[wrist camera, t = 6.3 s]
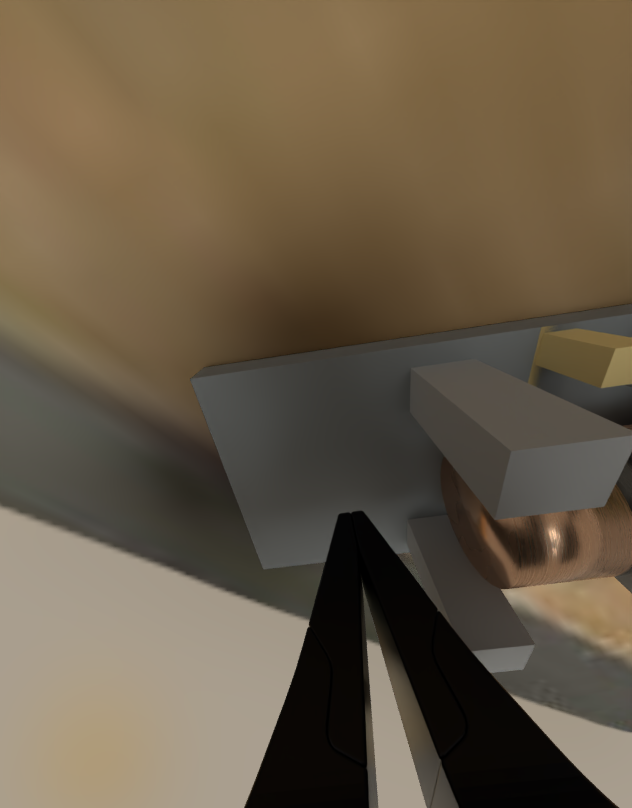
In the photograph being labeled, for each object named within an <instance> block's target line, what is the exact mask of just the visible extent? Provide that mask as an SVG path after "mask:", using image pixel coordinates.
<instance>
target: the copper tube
mask: <svg viewBox="0 0 632 808" xmlns="http://www.w3.org/2000/svg"><path fill="white" fill-rule="evenodd" d="M623 427H625V428H627V429H630V430H632V424H631V425H624V426H623ZM440 478H441V489H442V495H443V500H444V504H445V508H446V511H447V515H448V518H449V520H450V523H451V526H452V528H453V531H454V533H455V535H456V537H457V539H458V541H459V543H460V545H461V547H462V549H463V551H464V553H465V554H466V556H467V557H468V559H469V561H470V562H471V563H472V565H473V566H474V567H475V569H476V570H477V571H478V572H479V574H480V575H481V576H482V577H483V578H484V579H485V580H486V581H488V582H489V583H490V584H492V585H493V586H495V587H497V588H500V589H510V588H519V587H527V586H536V585H544V584H553V583H561V582H570V581H578V580H587V579H595V578H604V577H612V576H621V575H630V574H632V452H631V454H630V456H629V458H628V460H627V462H626V464H625V466H624V468H623V470H622V472H621V474H620V476H619V478H618V480H617V482H616V484H615V486H614V488H613V490H612V492H611V494H610V496H609V498H608V500H607V502H606V504H605V506H604V507H598V508H589V509H581V510H573V511H564V512H556V513H548V514H540V515H531V516H523V517H515V518H506V519H498V520H494V518H493V517H492V516H491V514H490V513H489V512H488V511H487V509H486V508H485V507H484V506H483V504H482V503H481V502H480V500H479V499H478V498H477V497H476V495H475V494H474V493H473V492H472V490H471V489H470V488H469V487H468V485H467V484H466V483H465V481H464V480H463V479H462V478H461V476H460V475H459V474H458V473H457V471H456V470H455V469H454V467H453V466H452V465H451V464H450V462H449V461H448V460H447V459H446V457H445V456H444V458H443V461H442V464H441V473H440Z"/></svg>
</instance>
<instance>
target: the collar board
mask: <svg viewBox="0 0 632 808" xmlns="http://www.w3.org/2000/svg"><path fill="white" fill-rule="evenodd" d="M190 381H191V383H192V386H193V388H194V391H195V394H196V396H197V399H198V401H199V404H200V406H201V409H202V412H203V414H204V417H205V419H206V422H207V425H208V427H209V430H210V432H211V435H212V438H213V440H214V443H215V445H216V448H217V451H218V453H219V456H220V458H221V461H222V464H223V466H224V469H225V471H226V474H227V477H228V479H229V482H230V484H231V487H232V489H233V492H234V495H235V497H236V500H237V502H238V505H239V508H240V510H241V513H242V515H243V518H244V521H245V523H246V526H247V528H248V531H249V534H250V536H251V539H252V541H253V544H254V547H255V549H256V552H257V554H258V557H259V560H260V562H261V565H262V567H263V569H271V568H280V567H289V566H297V565H306V564H314V563H323V562H326V558H327V554H328V551H329V547H330V543H331V539H332V536H333V532H334V528H335V525H336V521H337V517H338V515H339V514H340V513H345V512H350V513H351V512H353V511H360V510H362V511H364V512H365V514H366V515H367V516H368V518H369V519H370V520H371V522H372V523H373V524H374V526H375V527H376V528H377V529H378V531H379V532H380V533H381V535H382V536H383V537H384V539H385V540H386V541H387V543H388V544H389V545H390V547H391V548H392V549H393V550H394V552H395V553H396V554H400V553H408V552H410V553H411V556H412V558H413V561H414V563H415V566H416V569H417V571H418V574H419V577H420V579H421V582H422V585H423V587H424V590H425V592H426V594H427V595H428V596H429V598H430V599H431V600H432V602H433V603H434V604H435V606H436V607H437V608H438V611H440V612H441V613H442V614H443V616H444V617H445V618H446V620H447V621H448V622H449V624H450V625H451V626H452V628H453V629H454V630H455V631H456V633H457V634H458V635H459V636H460V638H461V639H462V640H463V641H464V643H465V644H466V645H467V646H468V648H469V649H470V650H471V651H472V652H473V653H474V655H475V656H476V657H477V658H478V659H479V660H480V662H481V663H482V664H483V665H484V666H485V667H486V668H487V670H488V671H489V672H490V673H493V672H503V671H514V670H523V669H524V667H525V665H526V663H527V661H528V659H529V657H530V655H531V653H532V651H533V649H534V647H535V643H534V642H533V640H532V639H531V637H530V635H529V634H528V632H527V631H526V629H525V627H524V626H523V624H522V623H521V621H520V619H519V618H518V616H517V615H516V613H515V611H514V610H513V608H512V607H511V605H510V604H509V602H508V600H507V599H506V597H505V596H504V594H503V592H502V591H501V589H500V588H497V587H495V586H493V585H492V584H490V583H489V582H488V581H486V580H485V579H484V578H483V577H482V576H481V575H480V574H479V572H478V571H477V570H476V569H475V567H474V566H473V565H472V563H471V562H470V561H469V559H468V557H467V556H466V554H465V553H464V551H463V549H462V547H461V545H460V543H459V541H458V539H457V537H456V535H455V533H454V531H453V528H452V526H451V523H450V520H449V518H448V515H447V511H446V508H445V504H444V500H443V495H442V489H441V478H440V473H441V464H442V461H443V458H444V456H445V457H446V459H447V460H448V461H449V462H450V464H451V465H452V466H453V467H454V469H455V470H456V471H457V473H458V474H459V475H460V476H461V478H462V479H463V480H464V481H465V483H466V484H467V485H468V487H469V488H470V489H471V490H472V492H473V493H474V494H475V495H476V497H477V498H478V499H479V500H480V502H481V503H482V504H483V506H484V507H485V508H486V509H487V511H488V512H489V513H490V514H491V516H492V517H493V518H494V520H498V519H506V518H515V517H523V516H531V515H540V514H548V513H556V512H564V511H573V510H581V509H589V508H598V507H604V506H605V504H606V502H607V500H608V498H609V496H610V494H611V492H612V490H613V488H614V486H615V484H616V482H617V480H618V478H619V476H620V474H621V472H622V470H623V468H624V466H625V464H626V462H627V460H628V458H629V456H630V454H631V452H632V430H630V429H627V428H625V427H623V426H624V425H631V424H632V304H627V305H620V306H613V307H607V308H600V309H593V310H586V311H580V312H573V313H566V314H560V315H553V316H546V317H540V318H533V319H526V320H519V321H513V322H506V323H499V324H493V325H486V326H479V327H472V328H466V329H459V330H452V331H446V332H439V333H432V334H426V335H419V336H412V337H405V338H399V339H392V340H385V341H379V342H372V343H365V344H359V345H352V346H345V347H338V348H332V349H325V350H318V351H312V352H305V353H298V354H291V355H285V356H278V357H271V358H265V359H258V360H251V361H245V362H238V363H231V364H224V365H218V366H211V367H204V368H203V369H202V370H200V371H199V372H198V373H197V374H195V375H194V376H193V377H192V378H190ZM614 577H615V578H616V579H617V580H618V581H619V582H620V583H621V584H623V585H624V586H625V587H626V588H627V589H628V590H629V591H630V592H631V593H632V574H630V575H621V576H614ZM438 611H437V612H438Z"/></svg>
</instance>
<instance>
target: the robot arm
mask: <svg viewBox="0 0 632 808" xmlns="http://www.w3.org/2000/svg"><path fill="white" fill-rule="evenodd" d="M361 578H362V579H361ZM362 583H363V587H364V591H365V594H366V598H367V601H368V605H369V608H370V612H371V615H372V619H373V622H374V626H375V629H376V633H377V636H378V640H379V643H380V647H381V650H382V654H383V657H384V660H385V664H386V667H387V671H388V674H389V677H390V681H391V685H392V688H393V692H394V695H395V699H396V702H397V705H398V709H399V712H400V716H401V720H402V723H403V727H404V730H405V733H406V737H407V740H408V744H409V747H410V751H411V754H412V757H413V761H414V765H415V768H416V772H417V775H418V779H419V782H420V786H421V789H422V792H423V796H424V800H425V803H426V806H427V808H619V807H618V806H616V805H615V804H614V803H613V802H612V801H611V800H610V799H608V798H607V797H606V796H605V795H604V794H603V793H602V792H601V791H600V790H599V789H598V788H596V786H595V785H594V784H593V783H592V782H590V781H589V780H588V779H587V778H586V777H585V776H584V775H583V774H582V773H581V772H580V771H579V770H578V769H577V768H576V766H574V764H573V763H572V762H571V761H570V760H569V759H568V758H567V757H566V756H565V755H564V754H563V753H562V752H561V751H560V750H559V748H558V747H557V746H556V745H555V744H554V743H553V742H552V741H551V740H550V739H549V737H548V736H547V735H546V734H545V733H544V732H543V731H542V730H541V729H540V728H539V726H538V725H537V724H536V723H535V722H534V721H533V720H532V719H531V717H530V716H529V715H528V714H527V713H526V712H525V711H524V710H523V709H522V708H521V706H520V705H519V704H518V703H517V702H516V701H515V700H514V699H513V698H512V696H511V695H510V694H509V693H508V692H507V691H506V690H505V689H504V688H503V686H502V685H501V684H500V683H499V682H498V681H497V680H496V679H495V678H494V676H493V675H492V674H491V673H490V672H489V671H488V670H487V668H486V667H485V666H484V665H483V664H482V663H481V662H480V660H479V659H478V658H477V657H476V656H475V655H474V653H473V652H472V651H471V650H470V649H469V648H468V646H467V645H466V644H465V643H464V641H463V640H462V639H461V638H460V636H459V635H458V634H457V633H456V631H455V630H454V629H453V628H452V626H451V625H450V624H449V622H448V621H447V620H446V618H445V617H444V616H443V614H442V613H441V612H440V611H438V608H437V607H436V606H435V604H434V603H433V602H432V600H431V599H430V598H429V596H428V595H427V594H426V592H425V591H424V590H423V588H422V587H421V586H420V585H419V583H418V582H417V581H416V579H415V578H414V577H413V575H412V574H411V573H410V571H409V570H408V569H407V567H406V566H405V565H404V564H403V562H402V561H401V560H400V558H399V557H398V556H397V554H396V553H395V552H394V550H393V549H392V548H391V547H390V545H389V544H388V543H387V541H386V540H385V539H384V537H383V536H382V535H381V533H380V532H379V531H378V529H377V528H376V527H375V526H374V524H373V523H372V522H371V520H370V519H369V518H368V516H367V515H366V514H365V512H364V511H362V510H360V511H353V512H351V513H350V512H345V513H340V514H339V515H338V517H337V521H336V525H335V528H334V532H333V536H332V539H331V543H330V547H329V551H328V554H327V558H326V562H325V566H324V569H323V573H322V577H321V580H320V584H319V588H318V592H317V595H316V599H315V603H314V607H313V610H312V614H311V618H310V621H309V627H308V629H307V632H306V636H305V639H304V643H303V647H302V650H301V653H300V657H299V660H298V663H297V667H296V670H295V673H294V676H293V679H292V682H291V685H290V688H289V691H288V693H287V696H286V699H285V702H284V705H283V707H282V710H281V713H280V715H279V718H278V721H277V724H276V726H275V729H274V732H273V734H272V737H271V739H270V742H269V745H268V747H267V750H266V753H265V756H264V758H263V761H262V763H261V767H260V769H259V772H258V774H257V777H256V779H255V782H254V785H253V787H252V790H251V792H250V795H249V797H248V800H247V802H246V804H245V807H244V808H378V796H377V783H376V768H375V755H374V740H373V727H372V714H371V713H372V712H371V698H370V684H369V670H368V656H367V642H366V628H365V614H364V600H363V588H362ZM437 611H438V612H437Z"/></svg>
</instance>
